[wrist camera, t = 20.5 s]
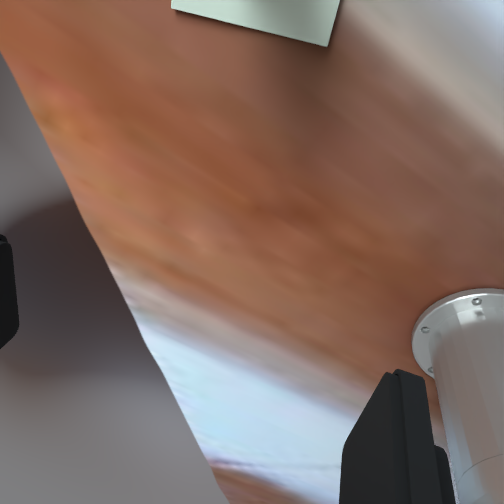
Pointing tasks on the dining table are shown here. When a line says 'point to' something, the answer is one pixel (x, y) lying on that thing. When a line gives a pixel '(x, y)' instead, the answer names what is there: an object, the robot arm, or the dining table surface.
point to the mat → (271, 16)
